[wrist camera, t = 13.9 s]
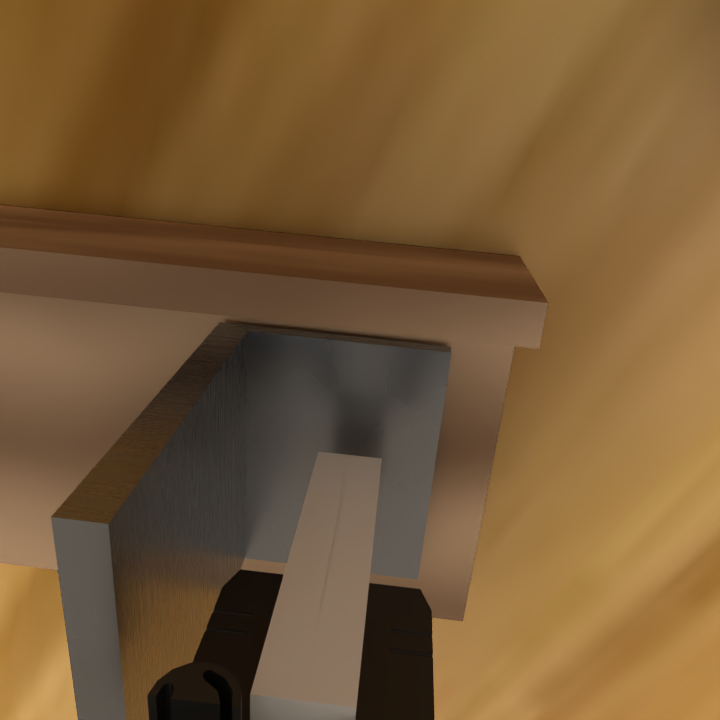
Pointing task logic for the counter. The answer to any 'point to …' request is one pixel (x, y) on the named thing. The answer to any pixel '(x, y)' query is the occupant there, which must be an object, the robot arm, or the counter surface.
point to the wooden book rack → (248, 307)
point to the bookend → (233, 491)
